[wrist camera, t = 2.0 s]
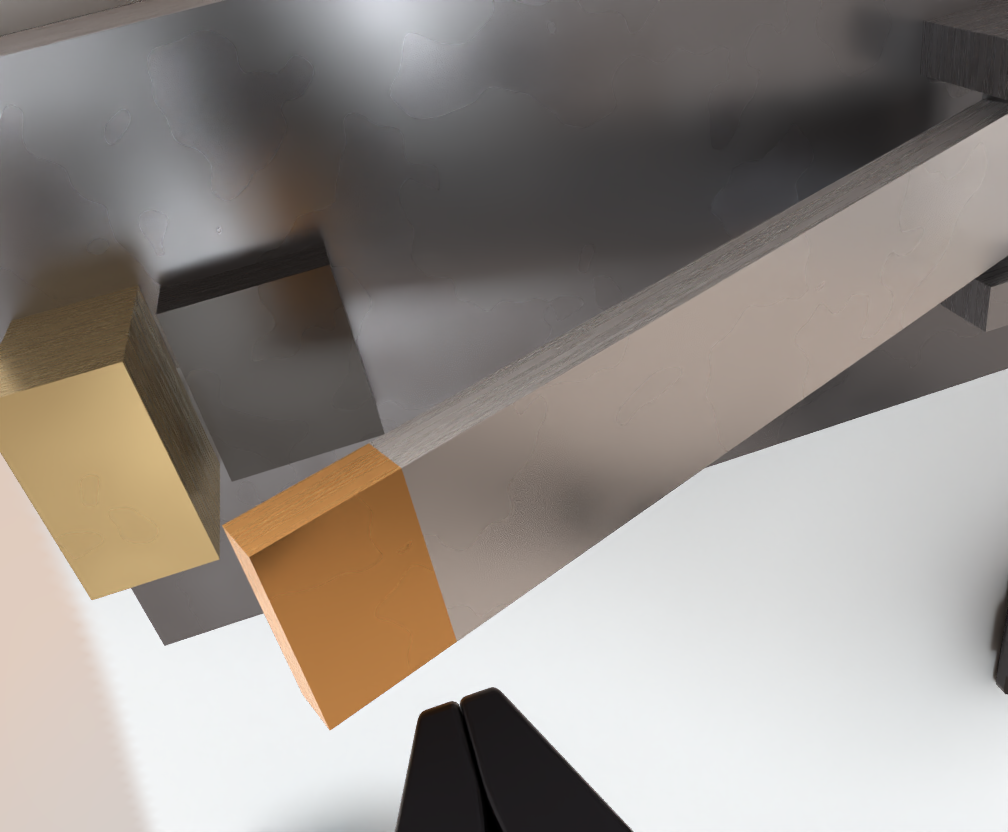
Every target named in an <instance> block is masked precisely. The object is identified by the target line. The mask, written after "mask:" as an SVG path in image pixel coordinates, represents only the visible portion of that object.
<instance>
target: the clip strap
mask: <svg viewBox="0 0 1008 832" xmlns="http://www.w3.org/2000/svg"><path fill="white" fill-rule="evenodd" d="M1006 256H1008V100H1005V99H1001V98H998V97H994V96H991V95H988V94H984V93H983V95H982V100H980V101H978V102H976V103H975V104H973V105H971V106H969V107H967V108H966V109H964V110H962V111H960V112H958V113H957V114H955V115H953V116H951V117H950V118H948V119H946V120H944V121H942V122H941V123H939V124H937V125H935V126H934V127H932V128H930V129H928V130H926V131H925V132H923V133H921V134H919V135H917V136H916V137H914V138H912V139H910V140H909V141H907V142H905V143H903V144H901V145H900V146H898V147H896V148H894V149H892V150H891V151H889V152H887V153H885V154H884V155H882V156H880V157H878V158H876V159H875V160H873V161H871V162H869V163H868V164H866V165H864V166H862V167H860V168H859V169H857V170H855V171H853V172H851V173H850V174H848V175H846V176H844V177H843V178H841V179H839V180H837V181H835V182H834V183H832V184H830V185H828V186H826V187H825V188H823V189H821V190H819V191H818V192H816V193H814V194H812V195H810V196H809V197H807V198H805V199H803V200H802V201H800V202H798V203H796V204H794V205H793V206H791V207H789V208H787V209H785V210H784V211H782V212H780V213H778V214H777V215H775V216H773V217H771V218H769V219H768V220H766V221H764V222H762V223H760V224H759V225H757V226H755V227H753V228H752V229H750V230H748V231H746V232H744V233H743V234H741V235H739V236H737V237H735V238H734V239H732V240H730V241H728V242H727V243H725V244H723V245H721V246H719V247H718V248H716V249H714V250H712V251H711V252H709V253H707V254H705V255H703V256H702V257H700V258H698V259H696V260H694V261H693V262H691V263H689V264H687V265H686V266H684V267H682V268H680V269H678V270H677V271H675V272H673V273H671V274H669V275H668V276H666V277H664V278H662V279H661V280H659V281H657V282H655V283H653V284H652V285H650V286H648V287H646V288H645V289H643V290H641V291H639V292H637V293H636V294H634V295H632V296H630V297H628V298H627V299H625V300H623V301H621V302H620V303H618V304H616V305H614V306H612V307H611V308H609V309H607V310H605V311H603V312H602V313H600V314H598V315H596V316H595V317H593V318H591V319H589V320H587V321H586V322H584V323H582V324H580V325H579V326H577V327H575V328H573V329H571V330H570V331H568V332H566V333H564V334H562V335H561V336H559V337H557V338H555V339H554V340H552V341H550V342H548V343H546V344H545V345H543V346H541V347H539V348H537V349H536V350H534V351H532V352H530V353H529V354H527V355H525V356H523V357H521V358H520V359H518V360H516V361H514V362H512V363H511V364H509V365H507V366H505V367H504V368H502V369H500V370H498V371H496V372H495V373H493V374H491V375H489V376H488V377H486V378H484V379H482V380H480V381H479V382H477V383H475V384H473V385H471V386H470V387H468V388H466V389H464V390H463V391H461V392H459V393H457V394H455V395H454V396H452V397H450V398H448V399H446V400H445V401H443V402H441V403H439V404H438V405H436V406H434V407H432V408H430V409H429V410H427V411H425V412H423V413H422V414H420V415H418V416H416V417H414V418H413V419H411V420H409V421H407V422H405V423H404V424H402V425H400V426H398V427H397V428H395V429H393V430H391V431H389V432H388V433H386V434H384V435H382V436H380V437H379V438H377V439H375V440H373V441H372V442H370V443H368V444H366V445H364V446H363V447H361V448H359V449H357V450H356V451H354V452H352V453H350V454H348V455H347V456H345V457H343V458H341V459H339V460H338V461H336V462H334V463H332V464H331V465H329V466H327V467H325V468H323V469H322V470H320V471H318V472H316V473H314V474H313V475H311V476H309V477H307V478H306V479H304V480H302V481H300V482H298V483H297V484H295V485H293V486H291V487H289V488H288V489H286V490H284V491H282V492H281V493H279V494H277V495H275V496H273V497H272V498H270V499H268V500H266V501H265V502H263V503H261V504H259V505H257V506H256V507H254V508H252V509H250V510H248V511H247V512H245V513H243V514H241V515H240V516H238V517H236V518H234V519H232V520H231V521H229V522H227V523H225V524H223V525H222V526H223V529H224V531H225V533H226V535H227V537H228V539H229V541H230V543H231V545H232V547H233V549H234V552H235V554H236V556H237V558H238V560H239V562H240V564H241V566H242V568H243V570H244V573H245V575H246V577H247V579H248V581H249V583H250V585H251V587H252V589H253V591H254V594H255V596H256V598H257V600H258V602H259V604H260V606H261V608H262V610H263V612H264V614H265V617H266V619H267V621H268V623H269V625H270V627H271V629H272V631H273V633H274V635H275V638H276V640H277V642H278V644H279V646H280V648H281V650H282V652H283V654H284V656H285V659H286V661H287V663H288V665H289V667H290V669H291V671H292V673H293V675H294V677H295V679H296V682H297V684H298V686H299V688H300V690H301V692H302V694H303V696H304V697H305V698H306V700H307V701H308V702H309V704H310V705H311V706H312V707H313V709H314V710H315V711H316V713H317V714H318V715H319V717H320V718H321V719H322V721H323V722H324V723H325V725H326V726H327V727H328V729H329V730H331V729H333V728H334V727H336V726H337V725H339V724H340V723H341V722H343V721H344V720H346V719H347V718H349V717H350V716H351V715H353V714H354V713H356V712H357V711H359V710H360V709H361V708H363V707H364V706H366V705H367V704H369V703H370V702H371V701H373V700H374V699H376V698H377V697H379V696H380V695H381V694H383V693H384V692H386V691H387V690H389V689H390V688H391V687H393V686H394V685H396V684H397V683H399V682H400V681H401V680H403V679H404V678H406V677H407V676H409V675H410V674H411V673H413V672H414V671H416V670H417V669H419V668H420V667H421V666H423V665H424V664H426V663H427V662H429V661H430V660H431V659H433V658H434V657H436V656H437V655H438V654H440V653H441V652H443V651H444V650H446V649H447V648H448V647H450V646H451V645H453V644H454V643H456V642H457V641H458V640H460V639H461V638H463V637H464V636H466V635H467V634H468V633H470V632H471V631H473V630H474V629H476V628H477V627H478V626H480V625H481V624H483V623H484V622H486V621H487V620H488V619H490V618H491V617H493V616H494V615H496V614H497V613H498V612H500V611H501V610H503V609H504V608H506V607H507V606H508V605H510V604H511V603H513V602H514V601H516V600H517V599H518V598H520V597H521V596H523V595H524V594H526V593H527V592H528V591H530V590H531V589H533V588H534V587H536V586H537V585H538V584H540V583H541V582H543V581H544V580H546V579H547V578H548V577H550V576H551V575H553V574H554V573H556V572H557V571H558V570H560V569H561V568H563V567H564V566H565V565H567V564H568V563H570V562H571V561H573V560H574V559H575V558H577V557H578V556H580V555H581V554H583V553H584V552H585V551H587V550H588V549H590V548H591V547H593V546H594V545H595V544H597V543H598V542H600V541H601V540H603V539H604V538H605V537H607V536H608V535H610V534H611V533H613V532H614V531H615V530H617V529H618V528H620V527H621V526H623V525H624V524H625V523H627V522H628V521H630V520H631V519H633V518H634V517H635V516H637V515H638V514H640V513H641V512H643V511H644V510H645V509H647V508H648V507H650V506H651V505H653V504H654V503H655V502H657V501H658V500H660V499H661V498H663V497H664V496H665V495H667V494H668V493H670V492H671V491H673V490H674V489H675V488H677V487H678V486H680V485H681V484H683V483H684V482H685V481H687V480H688V479H690V478H691V477H692V476H694V475H695V474H697V473H698V472H700V471H701V470H702V469H704V468H705V467H707V466H708V465H710V464H711V463H712V462H714V461H715V460H717V459H718V458H720V457H721V456H722V455H724V454H725V453H727V452H728V451H730V450H731V449H732V448H734V447H735V446H737V445H738V444H740V443H741V442H742V441H744V440H745V439H747V438H748V437H750V436H751V435H752V434H754V433H755V432H757V431H758V430H760V429H761V428H762V427H764V426H765V425H767V424H768V423H770V422H771V421H772V420H774V419H775V418H777V417H778V416H780V415H781V414H782V413H784V412H785V411H787V410H788V409H790V408H791V407H792V406H794V405H795V404H797V403H798V402H800V401H801V400H802V399H804V398H805V397H807V396H808V395H810V394H811V393H812V392H814V391H815V390H817V389H818V388H819V387H821V386H822V385H824V384H825V383H827V382H828V381H829V380H831V379H832V378H834V377H835V376H837V375H838V374H839V373H841V372H842V371H844V370H845V369H847V368H848V367H849V366H851V365H852V364H854V363H855V362H857V361H858V360H859V359H861V358H862V357H864V356H865V355H867V354H868V353H869V352H871V351H872V350H874V349H875V348H877V347H878V346H879V345H881V344H882V343H884V342H885V341H887V340H888V339H889V338H891V337H892V336H894V335H895V334H897V333H898V332H899V331H901V330H902V329H904V328H905V327H907V326H908V325H909V324H911V323H912V322H914V321H915V320H917V319H918V318H919V317H921V316H922V315H924V314H925V313H927V312H928V311H929V310H931V309H932V308H934V307H935V306H937V305H938V304H939V303H941V302H942V301H944V300H945V299H946V298H948V297H949V296H951V295H952V294H954V293H955V292H956V291H958V290H959V289H961V288H962V287H964V286H965V285H966V284H968V283H969V282H971V281H972V280H974V279H975V278H976V277H978V276H979V275H981V274H982V273H984V272H985V271H986V270H988V269H989V268H991V267H992V266H994V265H995V264H996V263H998V262H999V261H1001V260H1002V259H1004V258H1005V257H1006Z"/></svg>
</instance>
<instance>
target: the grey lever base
mask: <svg viewBox="0 0 1008 832" xmlns="http://www.w3.org/2000/svg"><path fill="white" fill-rule="evenodd" d="M983 93H984V94H988V95H991V96H994V97H998V98H1001V99H1005V100H1008V0H145V1H141V2H137V3H133V4H128V5H124V6H120V7H116V8H112V9H108V10H104V11H100V12H96V13H92V14H88V15H84V16H80V17H76V18H72V19H68V20H64V21H60V22H56V23H52V24H48V25H43V26H39V27H35V28H31V29H27V30H23V31H19V32H15V33H11V34H7V35H3V36H0V452H1V454H2V456H3V457H4V459H5V461H6V462H7V464H8V465H9V467H10V469H11V470H12V472H13V474H14V475H15V477H16V478H17V480H18V482H19V483H20V485H21V487H22V488H23V490H24V491H25V493H26V495H27V496H28V498H29V499H30V501H31V503H32V504H33V506H34V508H35V509H36V511H37V512H38V514H39V516H40V517H41V519H42V521H43V522H44V524H45V525H46V527H47V529H48V530H49V532H50V534H51V535H52V537H53V538H54V540H55V542H56V543H57V545H58V546H59V548H60V550H61V551H62V553H63V555H64V556H65V558H66V559H67V561H68V563H69V564H70V566H71V568H72V569H73V571H74V572H75V574H76V576H77V577H78V579H79V581H80V582H81V584H82V585H83V587H84V589H85V590H86V592H87V593H88V595H89V597H90V598H91V600H94V599H98V598H101V597H104V596H107V595H110V594H113V593H116V592H119V591H122V590H126V589H129V588H131V589H132V590H133V592H134V594H135V595H136V597H137V599H138V601H139V602H140V604H141V606H142V608H143V609H144V611H145V613H146V614H147V616H148V618H149V620H150V621H151V623H152V625H153V627H154V628H155V630H156V632H157V634H158V635H159V637H160V639H161V640H162V642H163V644H164V646H165V645H168V644H171V643H174V642H177V641H180V640H184V639H187V638H190V637H193V636H196V635H199V634H202V633H205V632H208V631H211V630H214V629H217V628H220V627H223V626H226V625H229V624H232V623H235V622H238V621H241V620H244V619H247V618H250V617H253V616H256V615H260V614H263V613H264V612H263V610H262V608H261V606H260V604H259V602H258V600H257V598H256V596H255V594H254V591H253V589H252V587H251V585H250V583H249V581H248V579H247V577H246V575H245V573H244V570H243V568H242V566H241V564H240V562H239V560H238V558H237V556H236V554H235V552H234V549H233V547H232V545H231V543H230V541H229V539H228V537H227V535H226V533H225V531H224V529H223V526H222V525H223V524H225V523H227V522H229V521H231V520H232V519H234V518H236V517H238V516H240V515H241V514H243V513H245V512H247V511H248V510H250V509H252V508H254V507H256V506H257V505H259V504H261V503H263V502H265V501H266V500H268V499H270V498H272V497H273V496H275V495H277V494H279V493H281V492H282V491H284V490H286V489H288V488H289V487H291V486H293V485H295V484H297V483H298V482H300V481H302V480H304V479H306V478H307V477H309V476H311V475H313V474H314V473H316V472H318V471H320V470H322V469H323V468H325V467H327V466H329V465H331V464H332V463H334V462H336V461H338V460H339V459H341V458H343V457H345V456H347V455H348V454H350V453H352V452H354V451H356V450H357V449H359V448H361V447H363V446H364V445H366V444H368V443H370V442H372V441H373V440H375V439H377V438H379V437H380V436H382V435H384V434H386V433H388V432H389V431H391V430H393V429H395V428H397V427H398V426H400V425H402V424H404V423H405V422H407V421H409V420H411V419H413V418H414V417H416V416H418V415H420V414H422V413H423V412H425V411H427V410H429V409H430V408H432V407H434V406H436V405H438V404H439V403H441V402H443V401H445V400H446V399H448V398H450V397H452V396H454V395H455V394H457V393H459V392H461V391H463V390H464V389H466V388H468V387H470V386H471V385H473V384H475V383H477V382H479V381H480V380H482V379H484V378H486V377H488V376H489V375H491V374H493V373H495V372H496V371H498V370H500V369H502V368H504V367H505V366H507V365H509V364H511V363H512V362H514V361H516V360H518V359H520V358H521V357H523V356H525V355H527V354H529V353H530V352H532V351H534V350H536V349H537V348H539V347H541V346H543V345H545V344H546V343H548V342H550V341H552V340H554V339H555V338H557V337H559V336H561V335H562V334H564V333H566V332H568V331H570V330H571V329H573V328H575V327H577V326H579V325H580V324H582V323H584V322H586V321H587V320H589V319H591V318H593V317H595V316H596V315H598V314H600V313H602V312H603V311H605V310H607V309H609V308H611V307H612V306H614V305H616V304H618V303H620V302H621V301H623V300H625V299H627V298H628V297H630V296H632V295H634V294H636V293H637V292H639V291H641V290H643V289H645V288H646V287H648V286H650V285H652V284H653V283H655V282H657V281H659V280H661V279H662V278H664V277H666V276H668V275H669V274H671V273H673V272H675V271H677V270H678V269H680V268H682V267H684V266H686V265H687V264H689V263H691V262H693V261H694V260H696V259H698V258H700V257H702V256H703V255H705V254H707V253H709V252H711V251H712V250H714V249H716V248H718V247H719V246H721V245H723V244H725V243H727V242H728V241H730V240H732V239H734V238H735V237H737V236H739V235H741V234H743V233H744V232H746V231H748V230H750V229H752V228H753V227H755V226H757V225H759V224H760V223H762V222H764V221H766V220H768V219H769V218H771V217H773V216H775V215H777V214H778V213H780V212H782V211H784V210H785V209H787V208H789V207H791V206H793V205H794V204H796V203H798V202H800V201H802V200H803V199H805V198H807V197H809V196H810V195H812V194H814V193H816V192H818V191H819V190H821V189H823V188H825V187H826V186H828V185H830V184H832V183H834V182H835V181H837V180H839V179H841V178H843V177H844V176H846V175H848V174H850V173H851V172H853V171H855V170H857V169H859V168H860V167H862V166H864V165H866V164H868V163H869V162H871V161H873V160H875V159H876V158H878V157H880V156H882V155H884V154H885V153H887V152H889V151H891V150H892V149H894V148H896V147H898V146H900V145H901V144H903V143H905V142H907V141H909V140H910V139H912V138H914V137H916V136H917V135H919V134H921V133H923V132H925V131H926V130H928V129H930V128H932V127H934V126H935V125H937V124H939V123H941V122H942V121H944V120H946V119H948V118H950V117H951V116H953V115H955V114H957V113H958V112H960V111H962V110H964V109H966V108H967V107H969V106H971V105H973V104H975V103H976V102H978V101H980V100H982V95H983ZM1007 368H1008V256H1006V257H1005V258H1004V259H1002V260H1001V261H999V262H998V263H996V264H995V265H994V266H992V267H991V268H989V269H988V270H986V271H985V272H984V273H982V274H981V275H979V276H978V277H976V278H975V279H974V280H972V281H971V282H969V283H968V284H966V285H965V286H964V287H962V288H961V289H959V290H958V291H956V292H955V293H954V294H952V295H951V296H949V297H948V298H946V299H945V300H944V301H942V302H941V303H939V304H938V305H937V306H935V307H934V308H932V309H931V310H929V311H928V312H927V313H925V314H924V315H922V316H921V317H919V318H918V319H917V320H915V321H914V322H912V323H911V324H909V325H908V326H907V327H905V328H904V329H902V330H901V331H899V332H898V333H897V334H895V335H894V336H892V337H891V338H889V339H888V340H887V341H885V342H884V343H882V344H881V345H879V346H878V347H877V348H875V349H874V350H872V351H871V352H869V353H868V354H867V355H865V356H864V357H862V358H861V359H859V360H858V361H857V362H855V363H854V364H852V365H851V366H849V367H848V368H847V369H845V370H844V371H842V372H841V373H839V374H838V375H837V376H835V377H834V378H832V379H831V380H829V381H828V382H827V383H825V384H824V385H822V386H821V387H819V388H818V389H817V390H815V391H814V392H812V393H811V394H810V395H808V396H807V397H805V398H804V399H802V400H801V401H800V402H798V403H797V404H795V405H794V406H792V407H791V408H790V409H788V410H787V411H785V412H784V413H782V414H781V415H780V416H778V417H777V418H775V419H774V420H772V421H771V422H770V423H768V424H767V425H765V426H764V427H762V428H761V429H760V430H758V431H757V432H755V433H754V434H752V435H751V436H750V437H748V438H747V439H745V440H744V441H742V442H741V443H740V444H738V445H737V446H735V447H734V448H732V449H731V450H730V451H728V452H727V453H725V454H724V455H722V456H721V457H720V458H718V459H717V460H715V461H714V462H712V463H711V464H710V465H708V466H707V467H709V466H712V465H715V464H718V463H722V462H725V461H728V460H731V459H734V458H737V457H740V456H743V455H746V454H749V453H752V452H755V451H758V450H761V449H764V448H767V447H770V446H773V445H776V444H779V443H782V442H785V441H788V440H791V439H794V438H798V437H801V436H804V435H807V434H810V433H813V432H816V431H819V430H822V429H825V428H828V427H831V426H834V425H837V424H840V423H843V422H846V421H849V420H852V419H855V418H858V417H861V416H864V415H867V414H870V413H873V412H877V411H880V410H883V409H886V408H889V407H892V406H895V405H898V404H901V403H904V402H907V401H910V400H913V399H916V398H919V397H922V396H925V395H928V394H931V393H934V392H937V391H940V390H943V389H946V388H949V387H953V386H956V385H959V384H962V383H965V382H968V381H971V380H974V379H977V378H980V377H983V376H986V375H989V374H992V373H995V372H998V371H1001V370H1004V369H1007ZM705 468H706V467H705Z"/></svg>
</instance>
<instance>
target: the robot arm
mask: <svg viewBox="0 0 1008 832" xmlns="http://www.w3.org/2000/svg"><path fill="white" fill-rule="evenodd" d="M996 684H997V686H998V687H999V688H1000V689H1001V690H1002V691H1003V692H1004V693H1005V694H1008V609H1007V615H1006V621H1005V628H1004V634H1003V641H1002V647H1001V653H1000V660H999V666H998V672H997V679H996ZM395 832H633V831H632V829H631V828H630V827H629V826H628V825H627V824H626V823H625V822H624V821H623V820H622V819H621V818H620V817H619V816H618V815H617V814H616V813H615V811H614V810H613V809H612V808H611V807H610V806H609V805H608V804H607V803H606V802H605V801H604V800H603V799H602V798H601V797H600V796H599V795H598V793H597V792H596V791H595V790H594V789H593V788H592V787H591V786H590V785H589V784H588V783H587V782H586V781H585V780H584V779H583V778H582V777H581V775H580V774H579V773H578V772H577V771H576V770H575V769H574V768H573V767H572V766H571V765H570V764H569V763H568V762H567V761H566V760H565V758H564V757H563V756H562V755H561V754H560V753H559V752H558V751H557V750H556V749H555V748H554V747H553V746H552V745H551V744H550V743H549V742H548V740H547V739H546V738H545V737H544V736H543V735H542V734H541V733H540V732H539V731H538V730H537V729H536V728H535V727H534V726H533V725H532V724H531V722H530V721H529V720H528V719H527V718H526V717H525V716H524V715H523V714H522V713H521V712H520V711H519V710H518V709H517V708H516V707H515V706H514V704H513V703H512V702H511V701H510V700H509V699H508V698H507V697H506V696H505V695H504V694H503V693H502V692H501V691H500V690H499V689H497V688H494V687H491V688H488V689H485V690H482V691H479V692H476V693H473V694H470V695H468V696H465V697H463V698H462V700H461V701H460V706H459V704H458V703H457V702H453V701H450V702H447V703H445V704H442V705H439V706H436V707H433V708H430V709H427V710H425V711H423V712H422V713H421V714H420V716H419V718H418V721H417V725H416V730H415V735H414V740H413V745H412V750H411V755H410V760H409V765H408V770H407V774H406V779H405V784H404V789H403V794H402V799H401V804H400V809H399V814H398V819H397V824H396V828H395Z"/></svg>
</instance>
